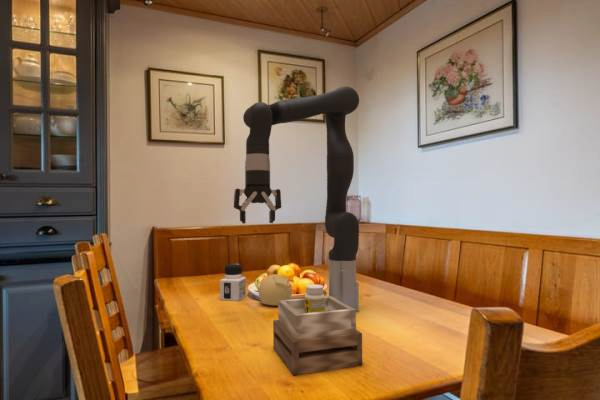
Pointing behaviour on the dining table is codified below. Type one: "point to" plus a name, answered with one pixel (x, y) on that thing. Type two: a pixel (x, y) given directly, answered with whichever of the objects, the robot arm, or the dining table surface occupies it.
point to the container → (233, 283)
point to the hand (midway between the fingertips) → (257, 223)
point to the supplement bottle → (314, 299)
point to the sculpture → (275, 289)
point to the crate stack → (316, 337)
